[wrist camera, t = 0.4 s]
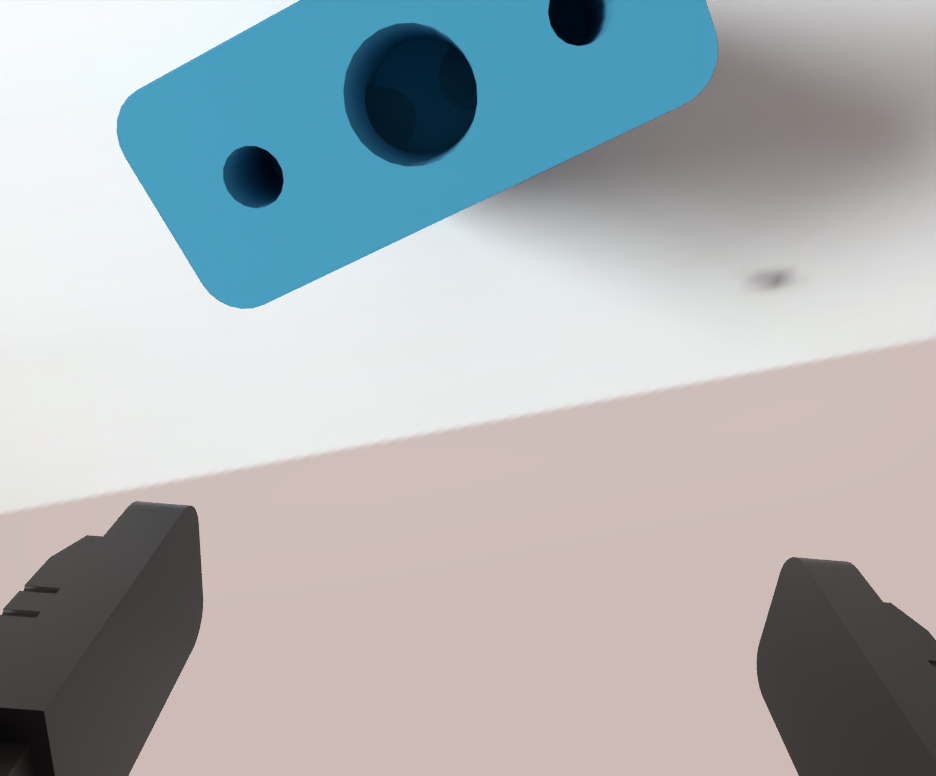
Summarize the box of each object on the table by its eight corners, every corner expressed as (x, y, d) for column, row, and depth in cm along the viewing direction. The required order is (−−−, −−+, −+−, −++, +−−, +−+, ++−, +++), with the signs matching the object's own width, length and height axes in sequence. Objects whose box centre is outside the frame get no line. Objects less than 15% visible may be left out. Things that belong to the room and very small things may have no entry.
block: (549, -27, 32) (645, -190, 13) (592, 87, 34) (731, 81, 15) (305, 100, 34) (97, 111, 15) (358, 202, 36) (226, 322, 17)
